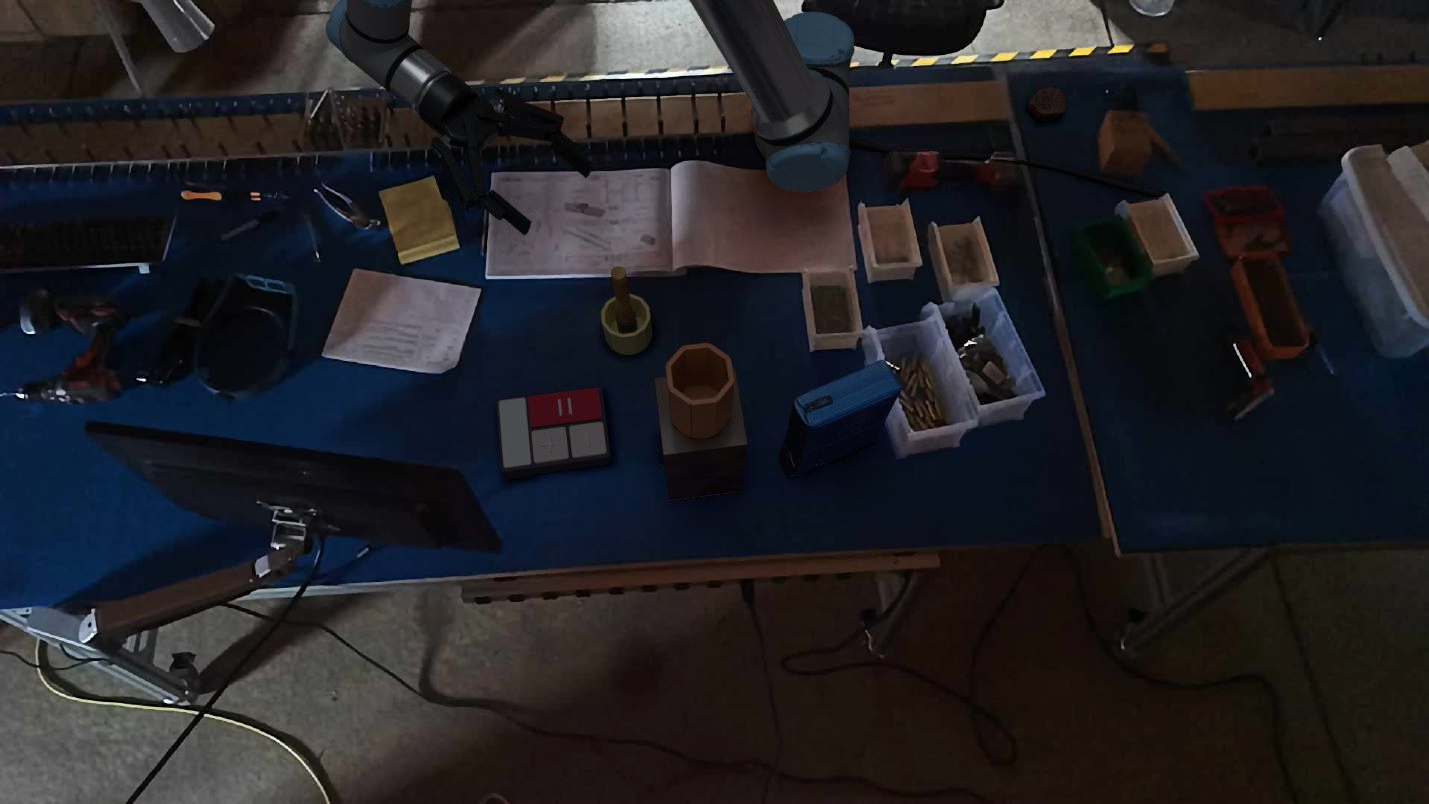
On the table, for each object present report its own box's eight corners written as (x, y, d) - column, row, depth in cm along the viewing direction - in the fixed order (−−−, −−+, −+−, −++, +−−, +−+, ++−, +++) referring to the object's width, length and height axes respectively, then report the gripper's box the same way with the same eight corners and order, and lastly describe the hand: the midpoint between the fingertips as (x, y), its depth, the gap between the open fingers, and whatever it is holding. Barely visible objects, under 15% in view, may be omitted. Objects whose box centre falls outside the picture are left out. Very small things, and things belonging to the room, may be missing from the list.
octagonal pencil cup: (725, 379, 103) (728, 339, 93) (734, 434, 100) (737, 399, 90) (666, 387, 102) (663, 347, 93) (673, 442, 100) (670, 407, 90)
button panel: (610, 455, 116) (499, 470, 114) (612, 465, 120) (505, 480, 118) (601, 383, 120) (494, 396, 118) (603, 395, 124) (499, 408, 122)
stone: (1027, 126, 144) (1034, 113, 141) (1019, 93, 147) (1026, 80, 144) (1065, 125, 144) (1073, 112, 141) (1056, 93, 147) (1064, 79, 144)
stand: (730, 427, 122) (735, 368, 103) (740, 493, 118) (747, 444, 100) (661, 436, 121) (654, 378, 103) (669, 503, 117) (663, 455, 99)
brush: (637, 322, 128) (628, 261, 112) (639, 340, 127) (630, 281, 111) (617, 325, 128) (605, 264, 112) (619, 342, 126) (607, 283, 111)
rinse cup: (649, 311, 129) (647, 291, 124) (654, 352, 126) (652, 333, 121) (603, 316, 129) (599, 296, 123) (607, 357, 126) (603, 339, 120)
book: (789, 485, 119) (805, 434, 100) (772, 452, 120) (784, 396, 102) (878, 444, 121) (909, 387, 103) (860, 413, 123) (887, 352, 105)
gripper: (492, 67, 122) (606, 164, 124) (366, 162, 110) (495, 269, 111) (500, 30, 116) (620, 133, 117) (368, 126, 103) (504, 240, 105)
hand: (560, 199), depth 114 cm, fingers open, 13 cm apart
